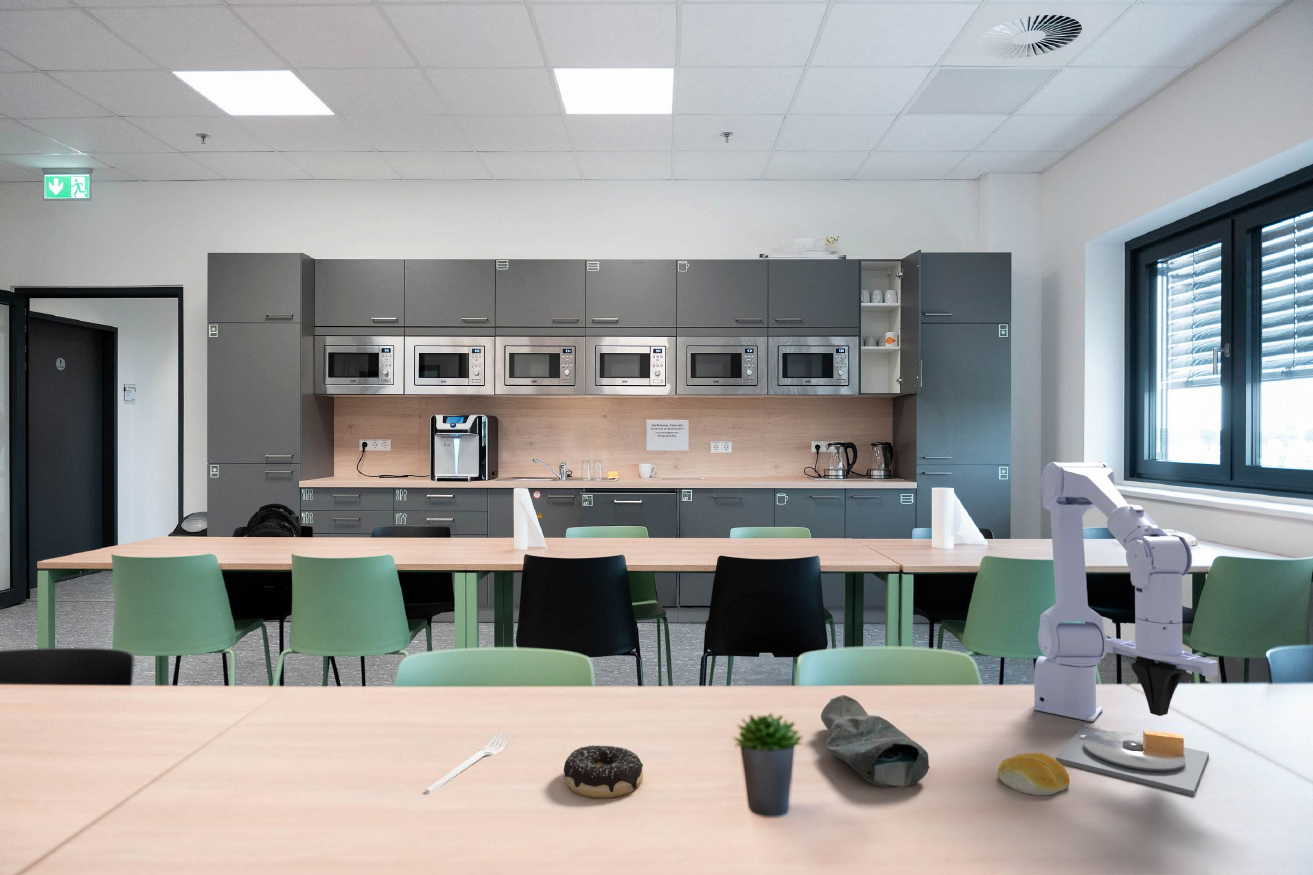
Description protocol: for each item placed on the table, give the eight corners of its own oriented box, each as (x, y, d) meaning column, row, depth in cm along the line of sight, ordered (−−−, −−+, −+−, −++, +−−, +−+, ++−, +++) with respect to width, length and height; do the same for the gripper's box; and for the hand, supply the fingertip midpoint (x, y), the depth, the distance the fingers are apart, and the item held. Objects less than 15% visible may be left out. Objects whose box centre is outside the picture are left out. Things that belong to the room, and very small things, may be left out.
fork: (416, 794, 106) (416, 781, 106) (495, 741, 125) (495, 730, 125) (436, 798, 105) (436, 784, 105) (513, 744, 124) (513, 732, 124)
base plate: (1055, 761, 116) (1055, 755, 116) (1083, 729, 129) (1083, 723, 129) (1193, 795, 105) (1193, 788, 105) (1208, 757, 117) (1208, 750, 117)
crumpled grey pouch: (944, 790, 107) (877, 721, 131) (940, 738, 106) (873, 679, 131) (851, 802, 105) (801, 730, 130) (847, 750, 105) (797, 688, 130)
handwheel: (1090, 763, 113) (1090, 740, 113) (1077, 731, 125) (1077, 711, 125) (1196, 776, 108) (1196, 753, 108) (1172, 742, 120) (1172, 721, 120)
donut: (581, 808, 102) (581, 778, 102) (551, 774, 112) (551, 746, 112) (657, 791, 107) (657, 762, 107) (620, 760, 117) (620, 733, 117)
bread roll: (1079, 786, 108) (1079, 757, 108) (1043, 803, 103) (1043, 772, 103) (1023, 765, 115) (1023, 738, 115) (986, 780, 110) (986, 751, 110)
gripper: (1229, 626, 108) (1230, 724, 108) (1124, 606, 121) (1125, 694, 121) (1201, 632, 104) (1201, 733, 104) (1096, 611, 117) (1097, 701, 117)
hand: (1158, 713), depth 112 cm, fingers closed
